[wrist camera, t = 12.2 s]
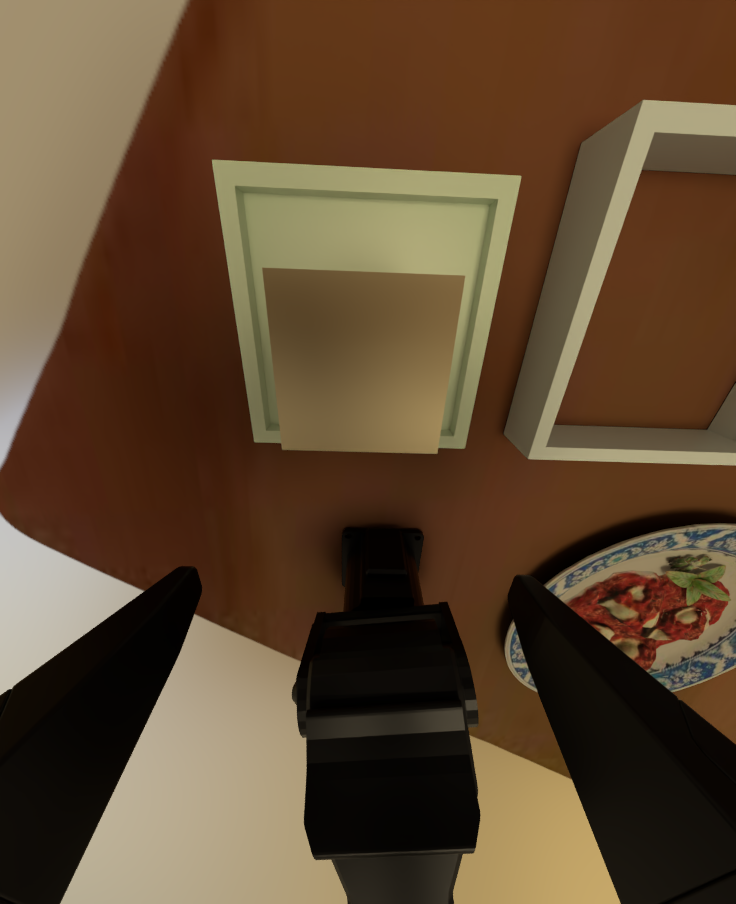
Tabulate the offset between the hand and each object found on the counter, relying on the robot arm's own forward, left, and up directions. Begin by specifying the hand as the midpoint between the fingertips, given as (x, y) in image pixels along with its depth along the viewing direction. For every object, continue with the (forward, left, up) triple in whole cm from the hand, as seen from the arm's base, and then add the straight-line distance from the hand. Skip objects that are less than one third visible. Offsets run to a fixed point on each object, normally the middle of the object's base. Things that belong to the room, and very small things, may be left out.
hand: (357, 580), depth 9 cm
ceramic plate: (-20, -27, -13) cm, 36 cm away
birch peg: (+5, 0, -12) cm, 13 cm away
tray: (+5, 0, -13) cm, 14 cm away
